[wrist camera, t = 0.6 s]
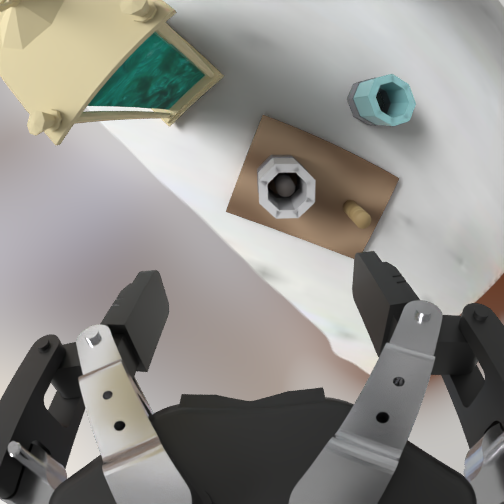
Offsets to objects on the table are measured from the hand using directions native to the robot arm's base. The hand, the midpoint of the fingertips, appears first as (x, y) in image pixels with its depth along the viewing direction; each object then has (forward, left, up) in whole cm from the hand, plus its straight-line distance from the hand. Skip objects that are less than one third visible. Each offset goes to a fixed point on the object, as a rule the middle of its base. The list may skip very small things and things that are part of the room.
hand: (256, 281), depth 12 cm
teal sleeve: (-14, +9, -24) cm, 29 cm away
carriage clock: (-10, -17, -24) cm, 31 cm away
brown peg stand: (-1, +7, -24) cm, 25 cm away
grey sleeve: (-1, +3, -23) cm, 23 cm away
